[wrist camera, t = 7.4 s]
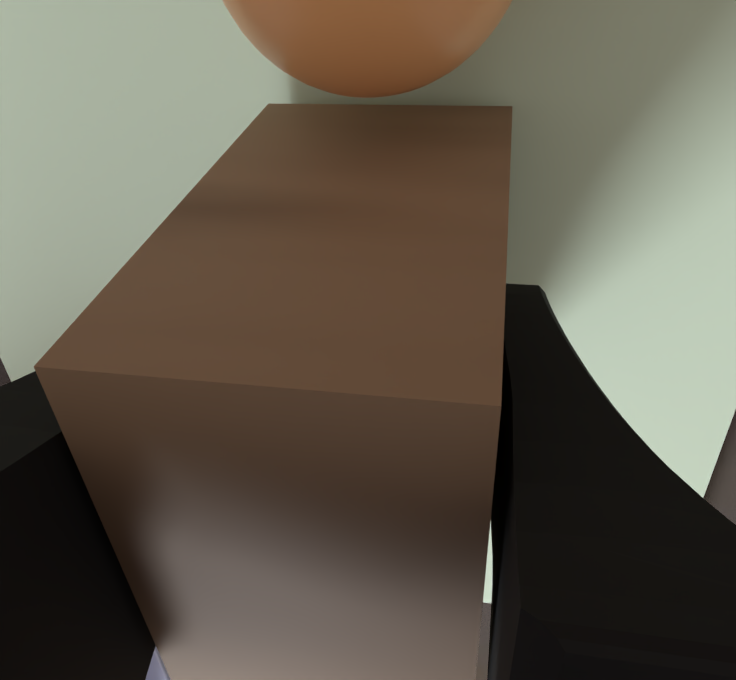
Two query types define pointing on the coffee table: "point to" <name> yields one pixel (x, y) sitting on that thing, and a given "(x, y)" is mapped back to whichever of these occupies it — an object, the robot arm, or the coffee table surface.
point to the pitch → (458, 88)
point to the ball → (367, 40)
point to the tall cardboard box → (306, 397)
